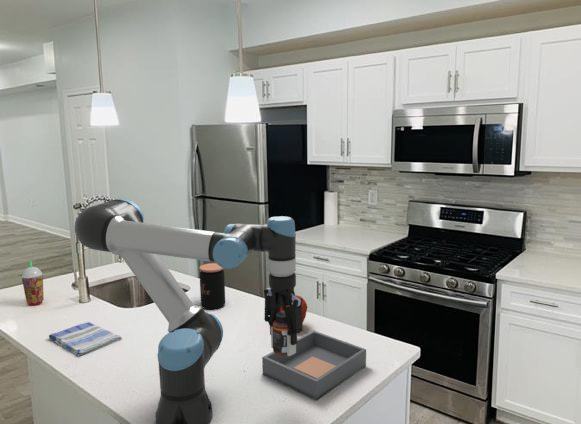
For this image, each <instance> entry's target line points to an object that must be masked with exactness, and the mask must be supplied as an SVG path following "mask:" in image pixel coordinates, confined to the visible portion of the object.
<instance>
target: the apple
mask: <svg viewBox="0 0 581 424" xmlns="http://www.w3.org/2000/svg"><path fill="white" fill-rule="evenodd" d="M295 296H296V297H297V298H302V299H303V302H302V323H304V322H305V319H306V316H307V311H308V304H307V302H306V300H305V298H303V297H302V296H301V295H296V294H295ZM288 306H289V305H288ZM286 307H287V306H286ZM280 312H284V310H283V309H282V306H281V309H280Z"/></svg>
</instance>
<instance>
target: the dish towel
mask: <svg viewBox="0 0 581 424" xmlns="http://www.w3.org/2000/svg"><path fill="white" fill-rule="evenodd" d="M48 338H49V339H50V340H51V341H53V342H55V343H56V344H57V345H58V346H61V347H62V348H64V350H66V351H68V352H69V353H72V354H74V355H75V356H77V357H81V356H83V355H84V356H85V355H87V354H90V353H92V352H95V351H97V350H99V349H103V348H105V347H106V346H109V345H112V344H115V343H116V342H117V341H118V342H119V341H122V340H123V337H122V336H121V335H119V334H117V333H113V332H112V331H110V330H107V329H104V328H102V327H101V326H97V325H95V324H94V323H93V322H90V321H88V322H84V323H80V324H78V325H75V326H71V327H69V328H66V329H63V330H60V331H57V332H53V333H50V334H49V335H48ZM118 342H117V343H118Z"/></svg>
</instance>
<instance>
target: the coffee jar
mask: <svg viewBox="0 0 581 424" xmlns="http://www.w3.org/2000/svg"><path fill="white" fill-rule="evenodd" d="M198 268H199V290H200V293H199V294H200V306H201V307H202V308H203V310H204V309H205V310H208V311H209V310H211V311H213V310H219V309H221V308H223V307H224V306H225V304H226V286H225V285H226V281H225V271H224V269H225V268H222V267H220V266H219V265H218V264H216V262H211V263H210V262H209V263H205V264H202V265H200V266H199V267H198Z"/></svg>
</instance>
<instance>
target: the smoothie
mask: <svg viewBox="0 0 581 424" xmlns="http://www.w3.org/2000/svg"><path fill="white" fill-rule="evenodd" d="M43 274H44V273H43V272H42V271H41V269H40V268H39V267H37V266H33V262H32V260H29V266H28V267H27V268H25V270H23V272H22V275H21V281H22V286H23V290H24V291H23V292H24V296H25V301H26V304H27V305H28V306H30V307H36V306H40V305H42V304H43V301H44V299H45V297H44V275H43Z"/></svg>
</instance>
